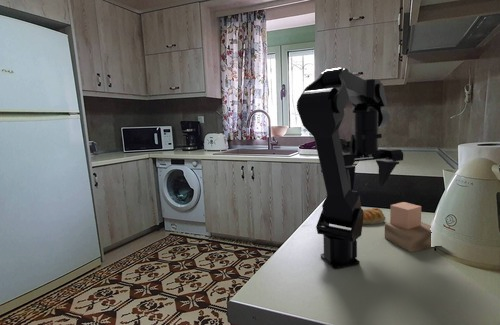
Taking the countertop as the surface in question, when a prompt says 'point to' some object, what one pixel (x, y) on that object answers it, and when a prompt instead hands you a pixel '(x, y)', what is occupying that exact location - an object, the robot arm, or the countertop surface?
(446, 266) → the countertop surface
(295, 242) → the countertop surface
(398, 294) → the countertop surface
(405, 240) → the brown wooden square block
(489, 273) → the countertop surface
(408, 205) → the terracotta cube
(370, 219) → the pastry
